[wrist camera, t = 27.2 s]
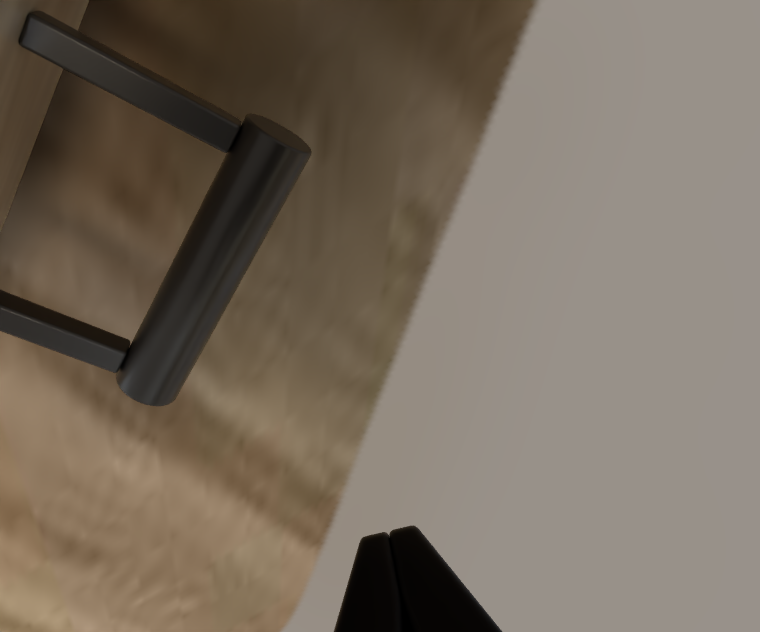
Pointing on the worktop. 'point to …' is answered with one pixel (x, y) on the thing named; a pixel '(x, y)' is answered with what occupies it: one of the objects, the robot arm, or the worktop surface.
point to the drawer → (208, 230)
